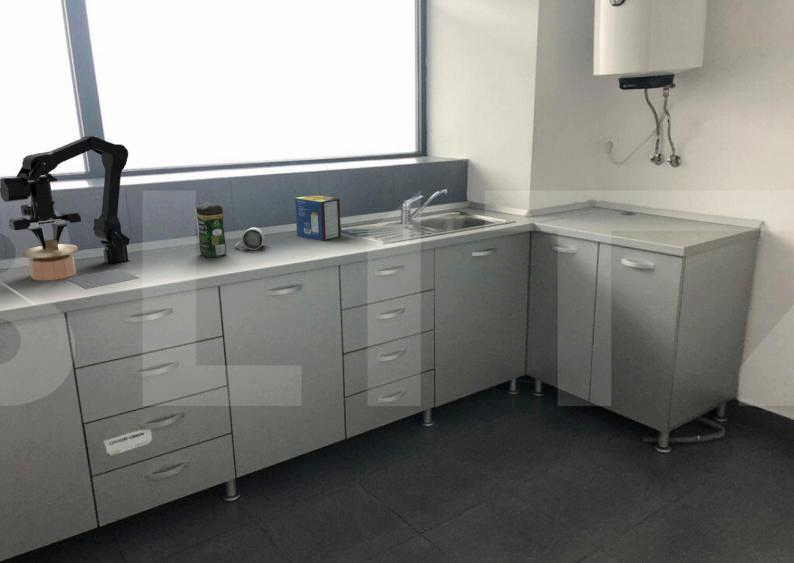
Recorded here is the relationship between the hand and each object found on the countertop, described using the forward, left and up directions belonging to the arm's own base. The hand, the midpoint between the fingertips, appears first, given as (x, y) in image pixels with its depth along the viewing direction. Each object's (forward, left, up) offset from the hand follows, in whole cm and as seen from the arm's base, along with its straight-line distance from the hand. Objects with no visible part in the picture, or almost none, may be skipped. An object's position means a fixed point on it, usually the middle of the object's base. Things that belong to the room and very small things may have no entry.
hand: (50, 248), depth 195 cm
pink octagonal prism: (0, 0, -9) cm, 9 cm away
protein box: (-95, +13, -9) cm, 96 cm away
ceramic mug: (-64, +11, -9) cm, 66 cm away
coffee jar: (-49, +11, -9) cm, 51 cm away
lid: (0, 0, -1) cm, 1 cm away
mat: (-9, +15, -9) cm, 20 cm away
